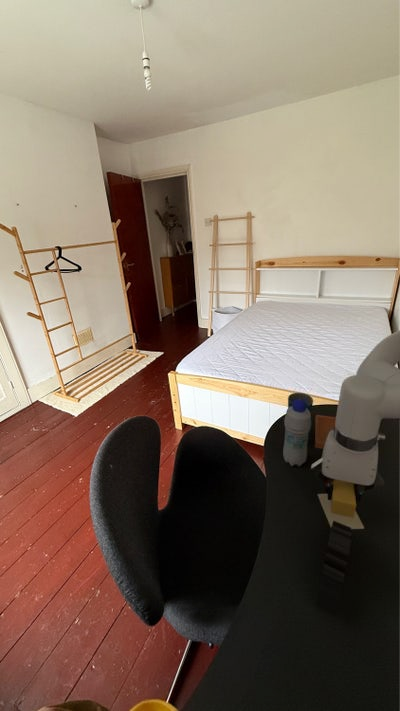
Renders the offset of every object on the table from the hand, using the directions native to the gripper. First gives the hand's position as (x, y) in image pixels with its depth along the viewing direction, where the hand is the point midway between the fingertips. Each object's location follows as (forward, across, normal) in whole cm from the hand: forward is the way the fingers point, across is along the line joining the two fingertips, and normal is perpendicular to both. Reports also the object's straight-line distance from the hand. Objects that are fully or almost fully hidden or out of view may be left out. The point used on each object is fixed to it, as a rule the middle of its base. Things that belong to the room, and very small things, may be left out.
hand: (341, 497), depth 67 cm
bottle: (+5, +11, -13) cm, 18 cm away
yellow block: (+1, 0, 0) cm, 1 cm away
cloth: (+5, 0, 0) cm, 5 cm away
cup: (+5, +11, -22) cm, 25 cm away
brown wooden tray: (+4, 0, -27) cm, 27 cm away
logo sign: (+5, +2, +14) cm, 15 cm away
